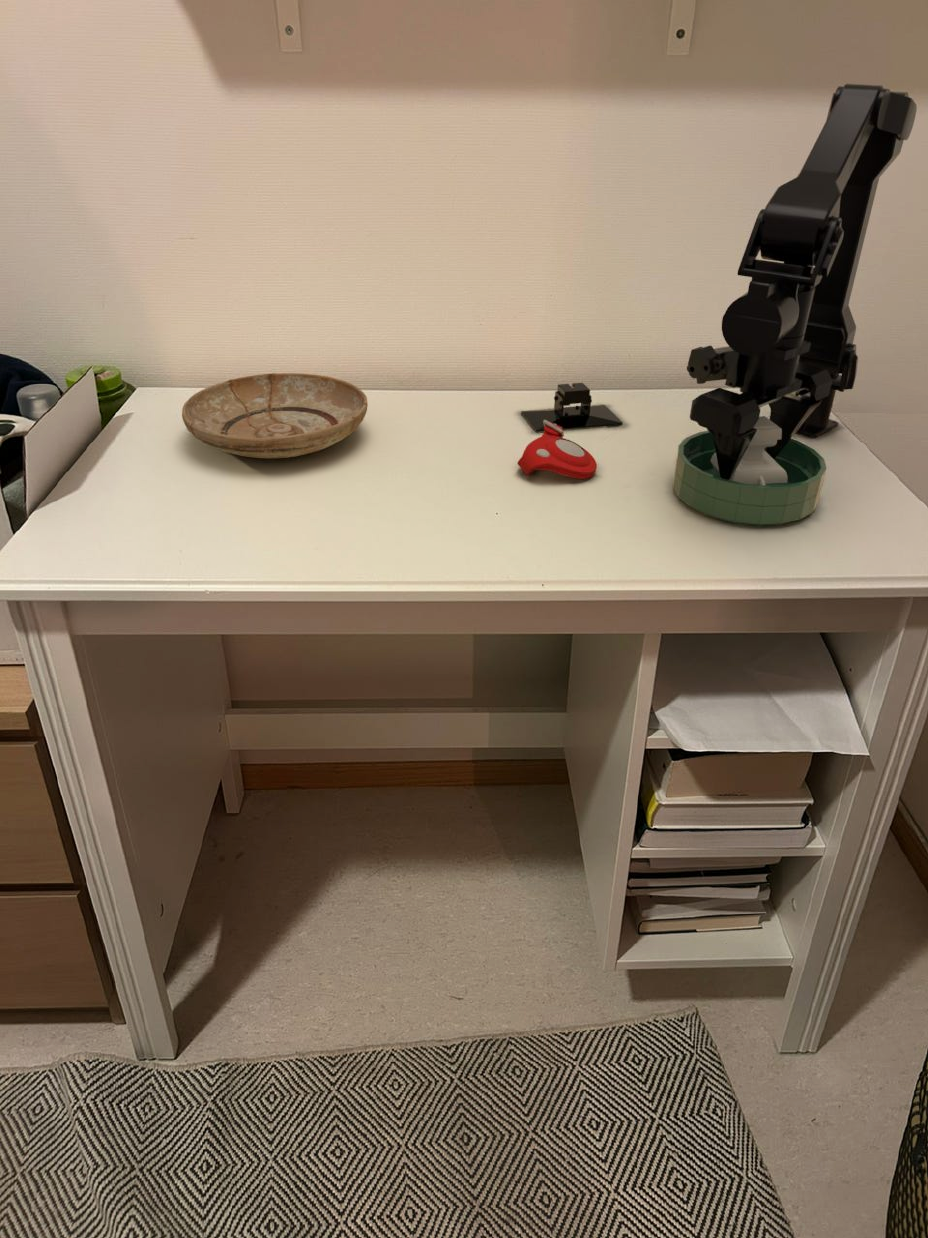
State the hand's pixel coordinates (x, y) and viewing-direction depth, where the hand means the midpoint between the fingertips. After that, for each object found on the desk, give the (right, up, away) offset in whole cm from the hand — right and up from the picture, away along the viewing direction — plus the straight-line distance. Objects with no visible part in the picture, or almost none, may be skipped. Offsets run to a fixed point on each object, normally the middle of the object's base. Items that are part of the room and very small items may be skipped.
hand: (748, 467), depth 105 cm
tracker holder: (-21, +2, +9) cm, 23 cm away
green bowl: (0, -3, +2) cm, 4 cm away
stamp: (0, -3, +2) cm, 3 cm away
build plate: (-18, +10, +21) cm, 29 cm away
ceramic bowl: (-57, +6, +14) cm, 59 cm away
